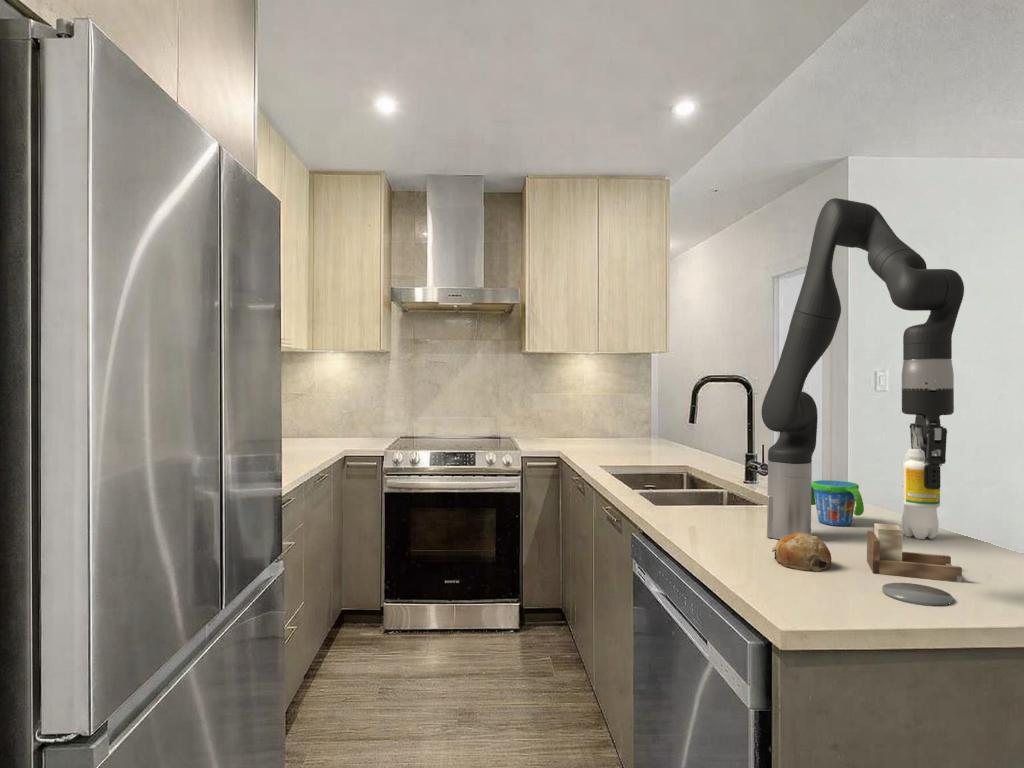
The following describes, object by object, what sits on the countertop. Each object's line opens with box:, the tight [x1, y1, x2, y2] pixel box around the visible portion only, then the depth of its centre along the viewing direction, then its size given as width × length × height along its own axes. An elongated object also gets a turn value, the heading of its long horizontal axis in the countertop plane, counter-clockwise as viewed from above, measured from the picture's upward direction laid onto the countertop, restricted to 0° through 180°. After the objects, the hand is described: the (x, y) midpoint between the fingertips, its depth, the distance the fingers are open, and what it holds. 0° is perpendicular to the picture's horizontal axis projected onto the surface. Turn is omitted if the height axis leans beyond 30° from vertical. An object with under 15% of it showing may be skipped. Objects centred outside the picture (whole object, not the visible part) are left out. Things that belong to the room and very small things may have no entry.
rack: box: [866, 523, 963, 583], centre depth 125 cm, size 14×9×8 cm, turn 69°
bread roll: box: [771, 532, 832, 573], centre depth 130 cm, size 10×10×8 cm
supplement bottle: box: [902, 448, 941, 509], centre depth 113 cm, size 5×5×10 cm
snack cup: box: [811, 479, 865, 527], centre depth 166 cm, size 16×10×10 cm
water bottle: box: [901, 443, 939, 540], centre depth 153 cm, size 7×7×25 cm
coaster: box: [881, 582, 953, 606], centre depth 111 cm, size 10×10×1 cm
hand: (927, 485), depth 113 cm, fingers closed on supplement bottle, 5 cm apart
